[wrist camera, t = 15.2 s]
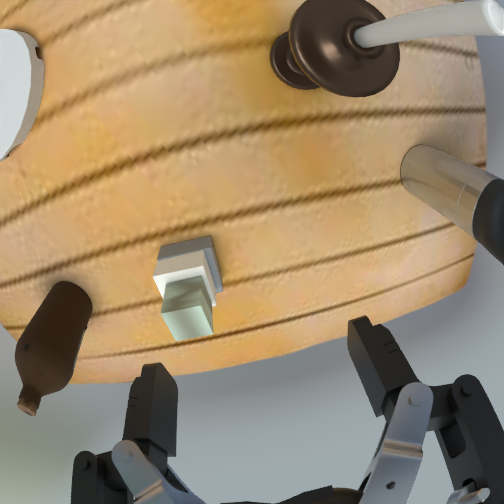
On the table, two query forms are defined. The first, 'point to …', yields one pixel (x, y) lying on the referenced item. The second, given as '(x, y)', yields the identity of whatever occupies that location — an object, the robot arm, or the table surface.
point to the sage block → (187, 308)
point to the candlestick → (366, 41)
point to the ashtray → (18, 88)
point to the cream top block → (184, 271)
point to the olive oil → (51, 344)
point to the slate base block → (195, 246)
